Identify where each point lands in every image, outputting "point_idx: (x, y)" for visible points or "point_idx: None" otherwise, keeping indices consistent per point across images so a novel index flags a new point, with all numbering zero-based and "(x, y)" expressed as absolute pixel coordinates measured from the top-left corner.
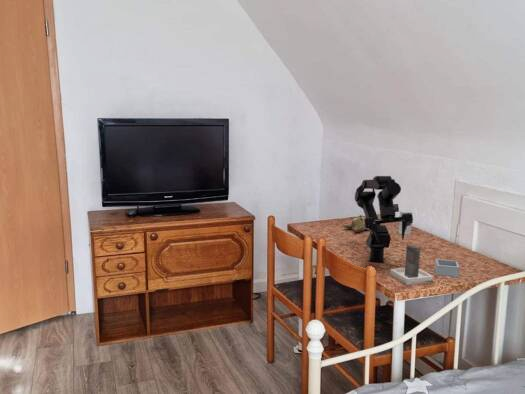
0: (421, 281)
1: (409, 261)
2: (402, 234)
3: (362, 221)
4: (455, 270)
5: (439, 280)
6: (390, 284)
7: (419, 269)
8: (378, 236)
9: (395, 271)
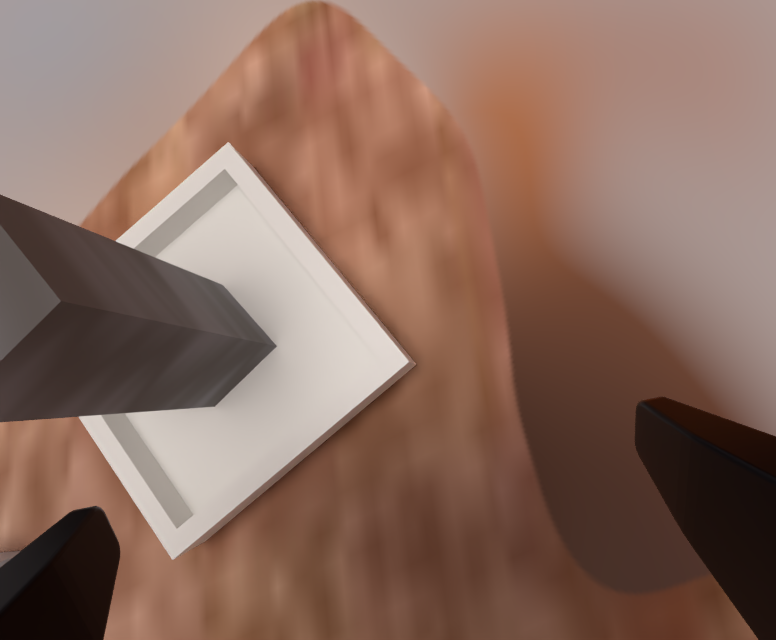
0: None
1: (154, 275)
2: (10, 593)
3: None
4: None
5: None
6: (379, 129)
7: (133, 479)
8: (733, 449)
9: (349, 307)
